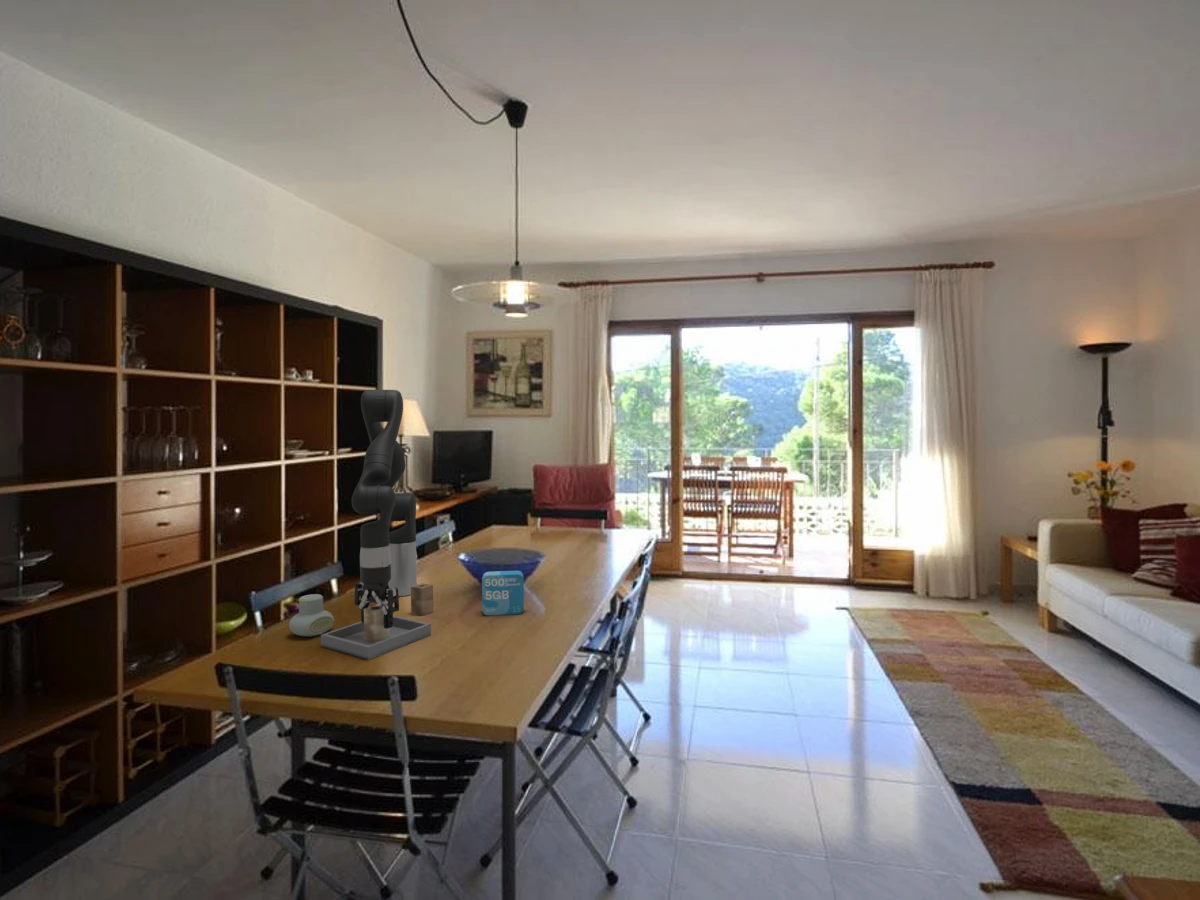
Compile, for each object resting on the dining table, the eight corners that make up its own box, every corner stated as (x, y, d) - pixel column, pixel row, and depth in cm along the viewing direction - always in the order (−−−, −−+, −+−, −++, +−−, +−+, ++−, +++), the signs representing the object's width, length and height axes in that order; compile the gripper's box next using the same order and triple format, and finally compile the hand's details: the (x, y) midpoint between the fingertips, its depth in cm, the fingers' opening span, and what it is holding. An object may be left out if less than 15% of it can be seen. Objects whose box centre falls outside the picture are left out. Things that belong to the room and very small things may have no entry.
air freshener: (302, 642, 162) (301, 604, 162) (283, 636, 167) (282, 599, 166) (339, 630, 172) (338, 594, 171) (320, 625, 176) (319, 590, 176)
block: (364, 639, 162) (363, 608, 162) (378, 634, 166) (378, 603, 166) (376, 642, 160) (375, 610, 160) (390, 637, 164) (389, 606, 164)
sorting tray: (321, 646, 159) (320, 634, 159) (384, 624, 176) (384, 613, 176) (368, 659, 150) (368, 647, 150) (430, 635, 167) (430, 624, 167)
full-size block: (411, 613, 186) (410, 586, 186) (422, 609, 190) (422, 582, 190) (422, 615, 184) (421, 588, 184) (433, 611, 188) (432, 584, 187)
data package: (482, 616, 183) (481, 575, 183) (483, 611, 188) (482, 571, 187) (523, 614, 185) (523, 573, 185) (523, 609, 190) (523, 570, 189)
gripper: (345, 563, 163) (346, 624, 163) (382, 569, 155) (384, 634, 156) (369, 557, 169) (370, 616, 170) (406, 563, 162) (407, 625, 163)
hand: (377, 625), depth 163 cm, fingers open, 8 cm apart
